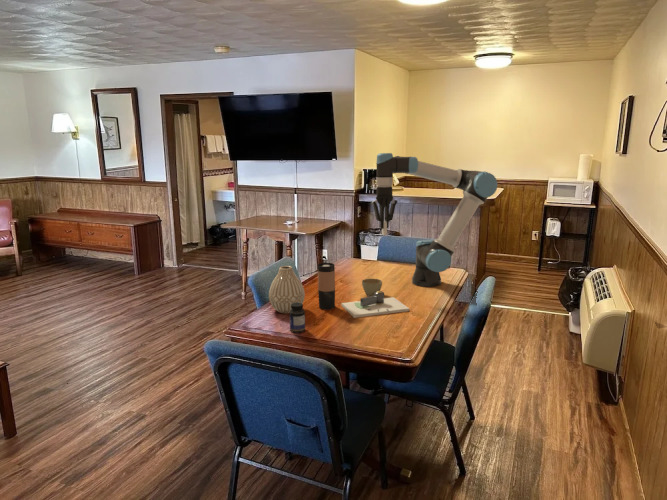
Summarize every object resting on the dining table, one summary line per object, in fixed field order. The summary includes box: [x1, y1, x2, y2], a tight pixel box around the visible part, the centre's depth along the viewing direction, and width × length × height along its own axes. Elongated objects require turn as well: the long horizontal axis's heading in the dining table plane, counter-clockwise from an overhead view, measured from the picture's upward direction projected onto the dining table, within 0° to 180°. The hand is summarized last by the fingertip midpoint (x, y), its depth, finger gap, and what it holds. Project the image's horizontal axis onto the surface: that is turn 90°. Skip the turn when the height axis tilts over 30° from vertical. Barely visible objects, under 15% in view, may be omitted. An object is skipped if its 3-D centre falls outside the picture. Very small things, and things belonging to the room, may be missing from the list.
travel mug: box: [317, 262, 336, 311], centre depth 218 cm, size 8×8×20 cm
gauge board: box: [341, 296, 410, 319], centre depth 218 cm, size 26×17×2 cm, turn 107°
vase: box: [268, 265, 306, 314], centre depth 215 cm, size 16×16×20 cm
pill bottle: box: [288, 302, 306, 334], centre depth 192 cm, size 6×6×11 cm
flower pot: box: [361, 278, 383, 297], centre depth 236 cm, size 10×10×7 cm
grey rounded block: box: [359, 290, 385, 307], centre depth 218 cm, size 12×4×5 cm, turn 124°
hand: (384, 234), depth 234 cm, fingers closed
